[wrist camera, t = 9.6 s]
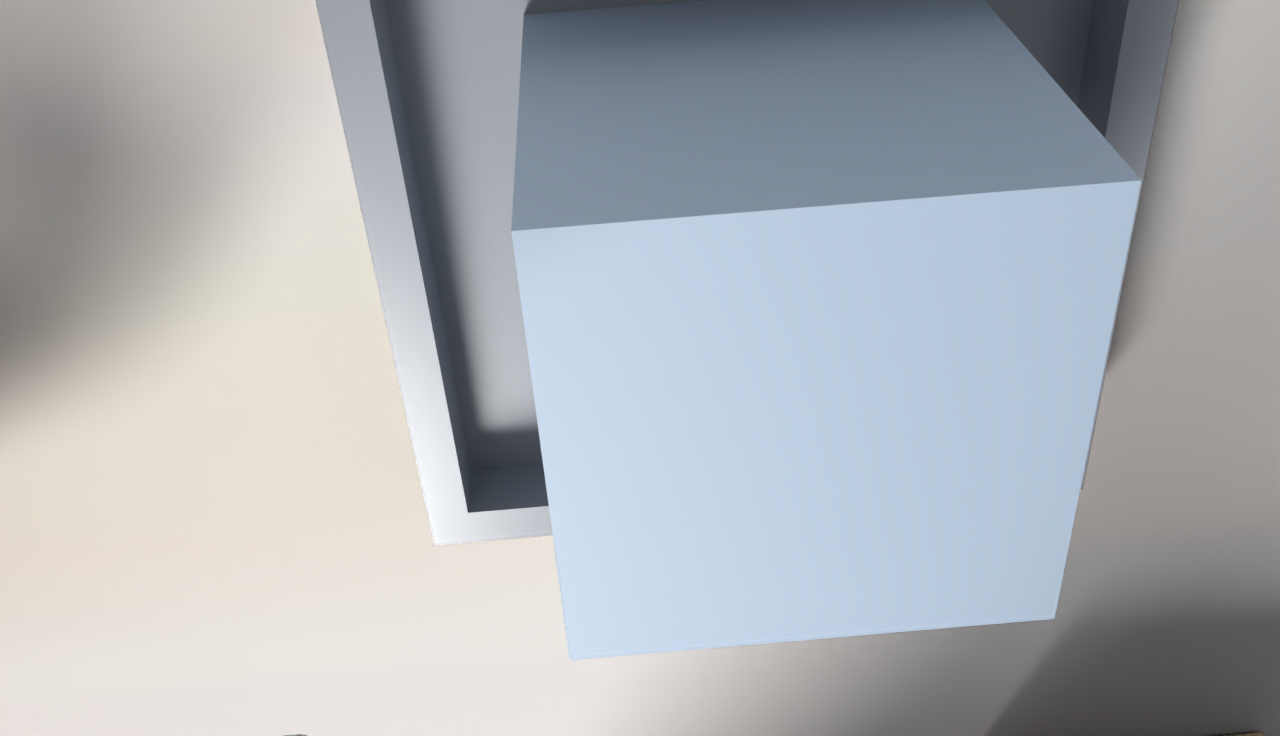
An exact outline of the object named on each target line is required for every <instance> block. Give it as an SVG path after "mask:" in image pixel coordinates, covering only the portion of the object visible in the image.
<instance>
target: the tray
mask: <svg viewBox="0 0 1280 736" xmlns="http://www.w3.org/2000/svg"><path fill="white" fill-rule="evenodd" d="M694 1H707V0H316V5H317V9H318V14H319V19H320V23H321V28H322V32H323V37H324V41H325V46H326V51H327V55H328V60H329V64H330V69H331V74H332V78H333V83H334V87H335V92H336V96H337V101H338V106H339V110H340V115H341V119H342V124H343V129H344V133H345V138H346V142H347V147H348V152H349V156H350V161H351V165H352V170H353V174H354V179H355V184H356V188H357V193H358V197H359V202H360V207H361V211H362V216H363V220H364V225H365V229H366V234H367V239H368V243H369V248H370V252H371V257H372V262H373V266H374V271H375V275H376V280H377V284H378V289H379V294H380V298H381V303H382V307H383V312H384V317H385V321H386V326H387V330H388V335H389V339H390V344H391V349H392V353H393V358H394V362H395V367H396V372H397V376H398V381H399V385H400V390H401V394H402V399H403V404H404V408H405V413H406V417H407V422H408V427H409V431H410V436H411V440H412V445H413V450H414V454H415V459H416V463H417V468H418V472H419V477H420V482H421V486H422V491H423V495H424V500H425V505H426V509H427V514H428V518H429V523H430V527H431V532H432V537H433V541H434V545H445V544H457V543H468V542H480V541H492V540H503V539H515V538H527V537H538V536H550V535H553V533H552V526H551V518H550V511H549V504H548V496H547V489H546V482H545V474H544V467H543V460H542V453H541V445H540V438H539V431H538V423H537V416H536V409H535V401H534V394H533V387H532V379H531V372H530V365H529V357H528V350H527V343H526V336H525V328H524V321H523V314H522V306H521V299H520V292H519V284H518V277H517V270H516V262H515V255H514V248H513V240H512V233H511V226H512V209H513V191H514V174H515V157H516V139H517V122H518V105H519V87H520V70H521V53H522V35H523V18H524V15H527V14H540V13H553V12H566V11H579V10H591V9H604V8H617V7H630V6H643V5H655V4H668V3H681V2H694ZM1178 1H1179V0H985V2H986V3H987V4H988V5H989V6H990V7H991V8H992V10H993V11H994V12H995V13H996V14H997V15H998V16H999V18H1000V19H1001V20H1002V21H1003V22H1004V23H1005V24H1006V26H1007V27H1008V28H1009V29H1010V30H1011V31H1012V32H1013V34H1014V35H1015V36H1016V37H1017V38H1018V39H1019V40H1020V42H1021V43H1022V44H1023V45H1024V46H1025V47H1026V49H1027V50H1028V51H1029V52H1030V53H1031V54H1032V55H1033V57H1034V58H1035V59H1036V60H1037V61H1038V62H1039V63H1040V65H1041V66H1042V67H1043V68H1044V69H1045V70H1046V71H1047V73H1048V74H1049V75H1050V76H1051V77H1052V78H1053V79H1054V81H1055V82H1056V83H1057V84H1058V85H1059V86H1060V87H1061V89H1062V90H1063V91H1064V92H1065V93H1066V94H1067V96H1068V97H1069V98H1070V99H1071V100H1072V101H1073V102H1074V104H1075V105H1076V106H1077V107H1078V108H1079V109H1080V110H1081V112H1082V113H1083V114H1084V115H1085V116H1086V117H1087V118H1088V120H1089V121H1090V122H1091V123H1092V124H1093V125H1094V126H1095V128H1096V129H1097V130H1098V131H1099V132H1100V133H1101V134H1102V136H1103V137H1104V138H1105V139H1106V140H1107V141H1108V143H1109V144H1110V145H1111V146H1112V147H1113V148H1114V149H1115V151H1116V152H1117V153H1118V154H1119V155H1120V156H1121V157H1122V159H1123V160H1124V161H1125V162H1126V163H1127V164H1128V165H1129V167H1130V168H1131V169H1132V170H1133V171H1134V172H1135V173H1136V175H1137V176H1138V177H1139V178H1140V179H1141V185H1140V191H1139V196H1138V201H1137V206H1136V211H1135V216H1134V221H1133V226H1132V231H1131V236H1130V241H1129V246H1128V251H1127V256H1126V261H1125V266H1124V271H1123V276H1122V281H1121V286H1120V291H1119V296H1118V302H1117V307H1116V312H1115V317H1114V322H1113V327H1112V332H1111V337H1110V342H1109V347H1108V352H1107V357H1106V362H1105V367H1104V372H1103V377H1102V382H1101V387H1100V392H1099V397H1098V402H1097V408H1096V413H1095V418H1094V423H1093V428H1092V433H1091V438H1090V443H1089V448H1088V453H1087V458H1086V463H1085V468H1084V473H1083V478H1082V483H1081V488H1080V490H1083V485H1084V480H1085V475H1086V470H1087V464H1088V459H1089V454H1090V449H1091V444H1092V439H1093V434H1094V429H1095V424H1096V419H1097V414H1098V408H1099V403H1100V398H1101V393H1102V388H1103V383H1104V378H1105V373H1106V368H1107V363H1108V358H1109V352H1110V347H1111V342H1112V337H1113V332H1114V327H1115V322H1116V317H1117V312H1118V307H1119V302H1120V296H1121V291H1122V286H1123V281H1124V276H1125V271H1126V266H1127V261H1128V256H1129V251H1130V245H1131V240H1132V235H1133V230H1134V225H1135V220H1136V215H1137V210H1138V205H1139V200H1140V195H1141V189H1142V184H1143V179H1144V174H1145V169H1146V164H1147V159H1148V154H1149V149H1150V144H1151V139H1152V133H1153V128H1154V123H1155V118H1156V113H1157V108H1158V103H1159V98H1160V93H1161V88H1162V83H1163V77H1164V72H1165V67H1166V62H1167V57H1168V52H1169V47H1170V42H1171V37H1172V32H1173V27H1174V21H1175V16H1176V11H1177V6H1178Z"/></svg>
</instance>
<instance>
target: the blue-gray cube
mask: <svg viewBox="0 0 1280 736" xmlns="http://www.w3.org/2000/svg"><path fill="white" fill-rule="evenodd" d="M1140 185H1141V179H1140V178H1139V177H1138V176H1137V175H1136V173H1135V172H1134V171H1133V170H1132V169H1131V168H1130V167H1129V165H1128V164H1127V163H1126V162H1125V161H1124V160H1123V159H1122V157H1121V156H1120V155H1119V154H1118V153H1117V152H1116V151H1115V149H1114V148H1113V147H1112V146H1111V145H1110V144H1109V143H1108V141H1107V140H1106V139H1105V138H1104V137H1103V136H1102V134H1101V133H1100V132H1099V131H1098V130H1097V129H1096V128H1095V126H1094V125H1093V124H1092V123H1091V122H1090V121H1089V120H1088V118H1087V117H1086V116H1085V115H1084V114H1083V113H1082V112H1081V110H1080V109H1079V108H1078V107H1077V106H1076V105H1075V104H1074V102H1073V101H1072V100H1071V99H1070V98H1069V97H1068V96H1067V94H1066V93H1065V92H1064V91H1063V90H1062V89H1061V87H1060V86H1059V85H1058V84H1057V83H1056V82H1055V81H1054V79H1053V78H1052V77H1051V76H1050V75H1049V74H1048V73H1047V71H1046V70H1045V69H1044V68H1043V67H1042V66H1041V65H1040V63H1039V62H1038V61H1037V60H1036V59H1035V58H1034V57H1033V55H1032V54H1031V53H1030V52H1029V51H1028V50H1027V49H1026V47H1025V46H1024V45H1023V44H1022V43H1021V42H1020V40H1019V39H1018V38H1017V37H1016V36H1015V35H1014V34H1013V32H1012V31H1011V30H1010V29H1009V28H1008V27H1007V26H1006V24H1005V23H1004V22H1003V21H1002V20H1001V19H1000V18H999V16H998V15H997V14H996V13H995V12H994V11H993V10H992V8H991V7H990V6H989V5H988V4H987V3H986V2H985V0H707V1H694V2H681V3H668V4H655V5H643V6H630V7H617V8H604V9H591V10H579V11H566V12H553V13H540V14H527V15H524V18H523V35H522V53H521V70H520V87H519V105H518V122H517V139H516V157H515V174H514V191H513V209H512V226H511V233H512V240H513V248H514V255H515V262H516V270H517V277H518V284H519V292H520V299H521V306H522V314H523V321H524V328H525V336H526V343H527V350H528V357H529V365H530V372H531V379H532V387H533V394H534V401H535V409H536V416H537V423H538V431H539V438H540V445H541V453H542V460H543V467H544V474H545V482H546V489H547V496H548V504H549V511H550V518H551V526H552V533H553V540H554V548H555V555H556V562H557V570H558V577H559V584H560V592H561V599H562V606H563V613H564V621H565V628H566V635H567V643H568V650H569V657H570V660H578V659H590V658H601V657H613V656H625V655H637V654H648V653H660V652H672V651H684V650H695V649H707V648H719V647H731V646H742V645H754V644H766V643H778V642H789V641H801V640H813V639H824V638H836V637H848V636H860V635H871V634H883V633H895V632H907V631H918V630H930V629H942V628H954V627H965V626H977V625H989V624H1001V623H1012V622H1024V621H1036V620H1048V619H1055V614H1056V609H1057V604H1058V599H1059V594H1060V589H1061V584H1062V579H1063V574H1064V569H1065V564H1066V559H1067V554H1068V549H1069V544H1070V539H1071V534H1072V529H1073V524H1074V519H1075V513H1076V508H1077V503H1078V498H1079V493H1080V488H1081V483H1082V478H1083V473H1084V468H1085V463H1086V458H1087V453H1088V448H1089V443H1090V438H1091V433H1092V428H1093V423H1094V418H1095V413H1096V408H1097V402H1098V397H1099V392H1100V387H1101V382H1102V377H1103V372H1104V367H1105V362H1106V357H1107V352H1108V347H1109V342H1110V337H1111V332H1112V327H1113V322H1114V317H1115V312H1116V307H1117V302H1118V296H1119V291H1120V286H1121V281H1122V276H1123V271H1124V266H1125V261H1126V256H1127V251H1128V246H1129V241H1130V236H1131V231H1132V226H1133V221H1134V216H1135V211H1136V206H1137V201H1138V196H1139V191H1140Z"/></svg>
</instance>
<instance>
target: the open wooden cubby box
mask: <svg viewBox="0 0 1280 736" xmlns="http://www.w3.org/2000/svg"><path fill="white" fill-rule="evenodd" d="M1225 736H1263V734H1262V732H1259V733H1247V734H1236V735H1225Z"/></svg>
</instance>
